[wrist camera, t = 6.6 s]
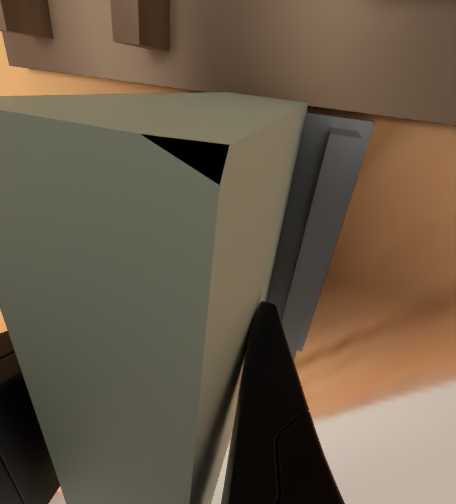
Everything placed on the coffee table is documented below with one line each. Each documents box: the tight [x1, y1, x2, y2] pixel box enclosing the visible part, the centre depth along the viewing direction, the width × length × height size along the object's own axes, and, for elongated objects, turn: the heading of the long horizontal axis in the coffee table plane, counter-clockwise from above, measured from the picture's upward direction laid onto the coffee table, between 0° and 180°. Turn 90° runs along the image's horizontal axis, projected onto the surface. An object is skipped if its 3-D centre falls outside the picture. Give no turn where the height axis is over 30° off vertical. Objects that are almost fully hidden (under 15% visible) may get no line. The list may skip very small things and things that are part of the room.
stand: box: [266, 111, 375, 360], centre depth 12 cm, size 6×10×2 cm
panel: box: [0, 92, 308, 504], centre depth 8 cm, size 2×10×8 cm, turn 173°
